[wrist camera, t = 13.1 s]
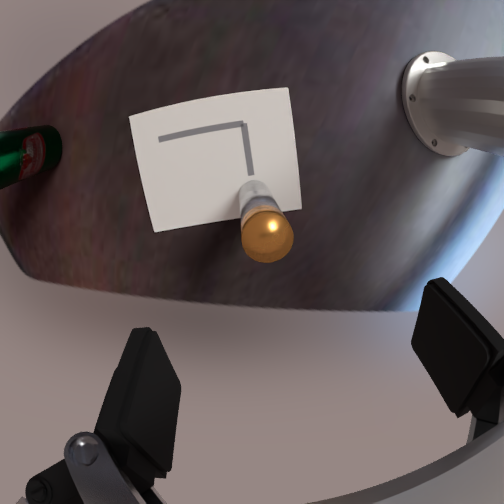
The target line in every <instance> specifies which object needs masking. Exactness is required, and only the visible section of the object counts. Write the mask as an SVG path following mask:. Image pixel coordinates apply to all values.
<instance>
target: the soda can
mask: <svg viewBox="0 0 504 504" xmlns="http://www.w3.org/2000/svg"><path fill="white" fill-rule="evenodd" d="M61 152H62V140H61V137H60V134H59V132H58V131H57V130H56V129H55V128H54V127H52V126H50V125H43V126H34V127H27V128H19V129H13V130H7V131H1V132H0V190H1V189H3V188H5V187H8V186H10V185H12V184H15V183H17V182H19V181H22V180H24V179H27V178H29V177H32V176H35V175H37V174H40V173H43V172H45V171H48V170H50V169H52V168H53V167H54V166H55V165H56V164H57V162H58V161H59V159H60V156H61Z"/></svg>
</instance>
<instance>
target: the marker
mask: <svg viewBox="0 0 504 504" xmlns="http://www.w3.org/2000/svg"><path fill="white" fill-rule="evenodd" d="M239 205H240V217H241V239H242V246H243V248H244V250H245V252H246V253H247V255H248V256H249V257H251V258H252V259H254V260H256V261H258V262H263V263H270V262H275V261H277V260H279V259H281V258H283V257H284V256H285V255H286V254H287V253H288V252H289V251H290V249H291V247H292V244H293V231H292V228H291V226H290V224H289V223H288V221H287V219H286V217H285V216H284V214H283V213H282V212H281V210H280V208H279V206H278V204H277V202H276V201H275V199H274V197H273V195H272V194H271V192H270V190H269V188H268V187H267V185H266V184H265V183H263V182H261V181H259V180H251V181H248V182H246V183H245V184H244V185H243V186H242V187H241V188H240V191H239Z"/></svg>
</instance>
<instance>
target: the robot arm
mask: <svg viewBox="0 0 504 504" xmlns="http://www.w3.org/2000/svg"><path fill="white" fill-rule="evenodd" d="M402 101H403V105H404V110H405V113H406V116H407V119H408V122H409V124H410V126H411V128H412V130H413V132H414V133H415V134H416V136H417V137H418V139H419V140H420V141H421V142H422V143H423V144H424V145H425V146H426V147H427V148H429V149H430V150H432V151H433V152H436V153H438V154H441V155H445V156H457V155H461V154H462V153H464V152H466V151H467V150H468V149H469V148H473V149H477V150H481V151H485V152H489V153H492V154H496V155H499V156H503V157H504V56H503V57H486V58H475V59H465V60H457V61H456V60H455V59H454V58H452V57H451V56H449V55H447V54H445V53H442V52H438V51H429V52H424V53H421V54H418V55H417V56H415V57H414V58H413V59H412V60H411V61H410V62H409V63H408V65H407V67H406V69H405V72H404V76H403V80H402ZM411 345H412V348H413V350H414V351H415V353H416V355H417V356H418V358H419V359H420V361H421V362H422V364H423V366H424V367H425V369H426V370H427V372H428V374H429V375H430V377H431V379H432V380H433V382H434V384H435V385H436V387H437V389H438V390H439V392H440V394H441V395H442V397H443V399H444V401H445V402H446V404H447V406H448V408H449V409H450V411H451V412H453V413H455V414H456V416H457V418H459V417H461V416H463V415H464V414H466V413H468V412H469V411H471V413H472V419H471V425H470V430H469V435H468V440H467V443H466V445H465V446H463V447H461V448H459V449H458V450H456V451H454V452H452V453H450V454H448V455H447V456H445V457H443V458H441V459H439V460H437V461H435V462H433V463H431V464H428V465H426V466H424V467H422V468H420V469H418V470H415V471H413V472H411V473H408V474H406V475H403V476H401V477H398V478H396V479H393V480H391V481H388V482H385V483H383V484H379V485H377V486H373V487H370V488H367V489H364V490H361V491H357V492H354V493H350V494H347V495H343V496H339V497H335V498H331V499H327V500H322V501H318V502H312V503H307V504H504V339H503V338H502V337H501V335H500V334H499V333H498V332H497V331H496V330H495V329H494V328H493V326H491V324H490V323H489V322H488V321H487V320H486V319H485V318H484V317H483V316H482V315H481V314H480V313H479V312H478V311H477V309H475V307H473V305H472V304H470V302H469V301H468V300H466V298H465V297H464V296H463V295H461V294H460V293H459V292H458V291H457V290H456V289H455V288H454V287H453V286H452V285H451V284H450V283H449V282H448V281H447V280H446V279H445V278H443V277H440V278H436V279H433V280H430V281H428V283H427V285H426V286H425V287H424V291H423V295H422V300H421V304H420V309H419V313H418V317H417V321H416V325H415V329H414V332H413V336H412V340H411ZM180 395H181V384H180V381H179V379H178V377H177V375H176V373H175V371H174V369H173V366H172V364H171V362H170V360H169V358H168V356H167V354H166V352H165V350H164V347H163V345H162V343H161V340H160V338H159V336H158V334H157V332H156V331H152V330H151V329H150V328H149V327H145V328H134V329H132V331H131V334H130V336H129V338H128V341H127V343H126V346H125V349H124V351H123V354H122V356H121V359H120V362H119V364H118V367H117V368H116V370H115V371H114V374H113V377H112V379H111V382H110V385H109V387H108V390H107V393H106V396H105V399H104V402H103V405H102V408H101V411H100V414H99V417H98V420H97V423H96V426H95V429H94V433H91V432H80V433H77V434H75V435H74V436H72V437H71V438H70V439H69V440H68V442H67V443H66V446H65V448H64V457H65V459H63V460H61V461H60V462H58V463H56V464H54V465H53V466H51V467H49V468H48V469H46V470H44V471H42V472H41V473H39V474H37V475H35V476H33V477H32V478H31V479H30V480H29V482H28V483H27V485H26V498H24V497H21V498H20V499H19V501H18V502H17V503H16V504H167V503H166V502H165V501H164V500H163V498H162V497H161V496H160V495H159V493H158V492H157V491H156V489H155V488H154V487H153V485H154V479H155V478H166V474H167V472H169V471H171V468H172V460H173V450H174V442H175V434H176V425H177V417H178V410H179V402H180Z"/></svg>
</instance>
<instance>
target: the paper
mask: <svg viewBox="0 0 504 504" xmlns="http://www.w3.org/2000/svg"><path fill="white" fill-rule="evenodd" d="M129 119H130V125H131V131H132V136H133V142H134V147H135V152H136V157H137V162H138V167H139V171H140V176H141V180H142V185H143V189H144V193H145V198H146V202H147V206H148V210H149V214H150V218H151V222H152V225H153V229H154V232H159V231H165V230H171V229H176V228H182V227H188V226H193V225H199V224H205V223H211V222H217V221H223V220H230V219H236V218H241V217H240V205H239V191H240V188H241V187H242V186H243V185H244V184H245V183H246V182H248V181H251V180H259V181H261V182H263V183H265V184H266V185H267V187H268V188H269V190H270V192H271V194H272V195H273V197H274V199H275V201H276V202H277V204H278V206H279V208H280V210H281V212H283V211H290V210H298V209H302V203H301V192H300V181H299V171H298V162H297V153H296V144H295V135H294V127H293V120H292V112H291V105H290V97H289V90H288V88H276V89H265V90H256V91H247V92H240V93H233V94H226V95H220V96H214V97H208V98H203V99H198V100H193V101H188V102H183V103H179V104H174V105H170V106H166V107H162V108H158V109H154V110H150V111H147V112H143V113H140V114H136V115H133V116H129Z"/></svg>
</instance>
